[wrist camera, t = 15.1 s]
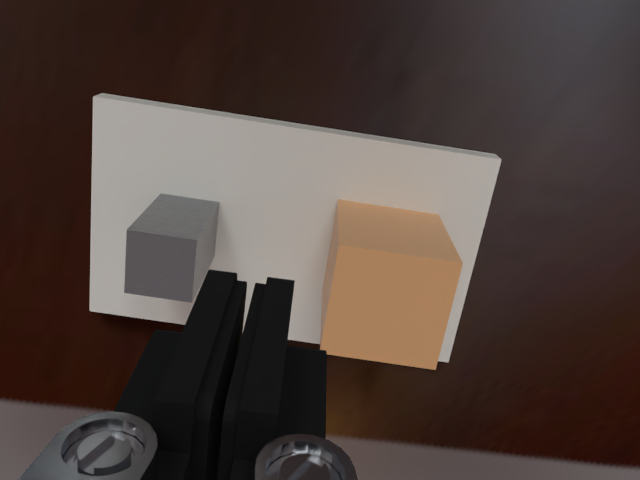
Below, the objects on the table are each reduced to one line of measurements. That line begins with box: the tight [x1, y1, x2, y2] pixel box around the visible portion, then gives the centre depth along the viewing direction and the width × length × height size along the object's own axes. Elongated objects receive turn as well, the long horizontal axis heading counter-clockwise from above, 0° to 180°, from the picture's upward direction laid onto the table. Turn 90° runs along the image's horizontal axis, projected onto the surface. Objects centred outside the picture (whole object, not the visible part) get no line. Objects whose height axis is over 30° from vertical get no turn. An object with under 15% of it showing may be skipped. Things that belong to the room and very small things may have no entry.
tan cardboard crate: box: [320, 199, 463, 370], centre depth 35 cm, size 6×6×8 cm
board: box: [89, 93, 501, 362], centre depth 39 cm, size 14×24×2 cm, turn 81°
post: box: [124, 193, 220, 303], centre depth 35 cm, size 4×4×8 cm
